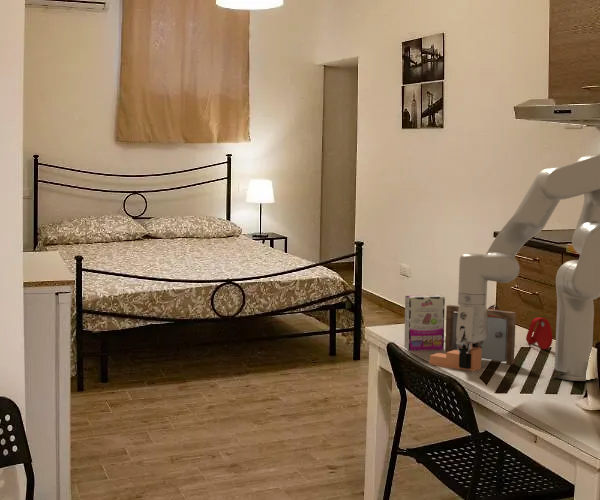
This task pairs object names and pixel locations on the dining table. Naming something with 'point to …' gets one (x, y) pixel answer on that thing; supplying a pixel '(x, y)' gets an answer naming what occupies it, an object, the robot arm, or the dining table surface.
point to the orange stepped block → (457, 359)
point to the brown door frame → (510, 315)
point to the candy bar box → (424, 322)
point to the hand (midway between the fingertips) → (469, 365)
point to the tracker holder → (540, 333)
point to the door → (490, 338)
